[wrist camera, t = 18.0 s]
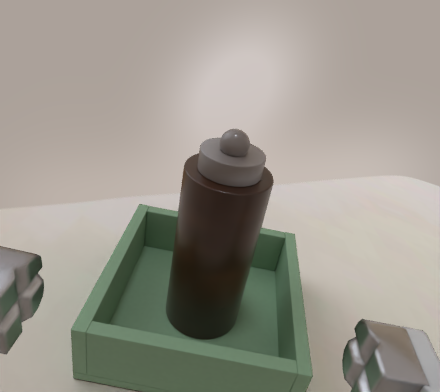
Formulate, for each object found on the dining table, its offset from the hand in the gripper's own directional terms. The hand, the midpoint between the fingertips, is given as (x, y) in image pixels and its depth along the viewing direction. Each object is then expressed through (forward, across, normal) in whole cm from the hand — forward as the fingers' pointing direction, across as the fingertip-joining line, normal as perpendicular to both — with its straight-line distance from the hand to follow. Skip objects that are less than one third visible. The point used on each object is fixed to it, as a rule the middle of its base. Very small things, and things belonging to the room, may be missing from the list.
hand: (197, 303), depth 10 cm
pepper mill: (+12, 0, +13) cm, 18 cm away
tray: (+12, 0, +14) cm, 18 cm away
